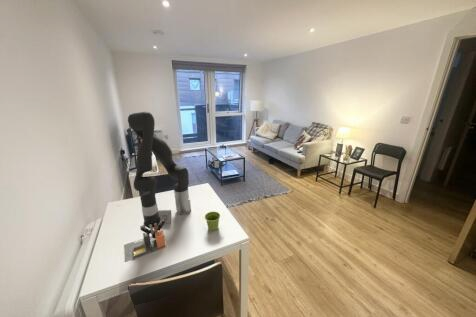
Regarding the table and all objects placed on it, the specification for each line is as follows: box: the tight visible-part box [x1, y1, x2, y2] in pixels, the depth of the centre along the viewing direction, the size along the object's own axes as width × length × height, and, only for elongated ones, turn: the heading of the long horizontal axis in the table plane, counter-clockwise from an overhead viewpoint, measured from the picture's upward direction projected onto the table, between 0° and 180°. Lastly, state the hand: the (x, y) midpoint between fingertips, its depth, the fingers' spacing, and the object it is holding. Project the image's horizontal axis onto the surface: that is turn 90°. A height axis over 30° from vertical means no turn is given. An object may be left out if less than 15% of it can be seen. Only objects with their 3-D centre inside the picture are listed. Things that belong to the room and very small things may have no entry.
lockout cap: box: [155, 230, 167, 248], centre depth 106 cm, size 4×4×8 cm
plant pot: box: [204, 211, 221, 232], centre depth 121 cm, size 9×9×9 cm
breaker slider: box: [142, 232, 151, 244], centre depth 109 cm, size 3×4×5 cm
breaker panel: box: [123, 235, 168, 263], centre depth 107 cm, size 20×13×3 cm, turn 120°
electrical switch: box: [158, 209, 172, 224], centre depth 126 cm, size 9×5×9 cm, turn 90°
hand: (155, 237), depth 111 cm, fingers closed
